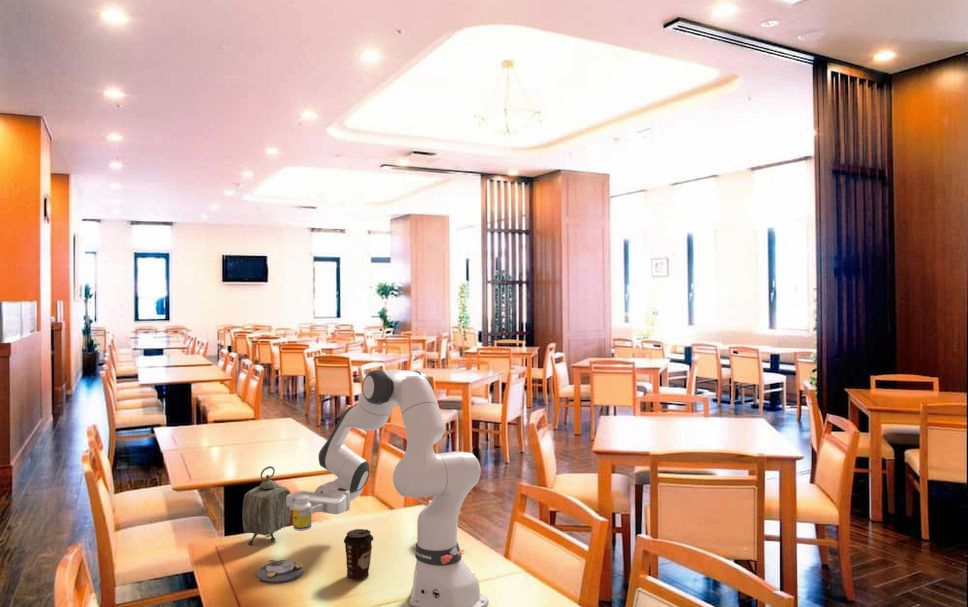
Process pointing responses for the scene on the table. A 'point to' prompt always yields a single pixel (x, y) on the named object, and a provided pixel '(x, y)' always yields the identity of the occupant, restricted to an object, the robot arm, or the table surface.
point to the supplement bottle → (301, 513)
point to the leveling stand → (280, 571)
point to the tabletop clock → (265, 508)
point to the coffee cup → (358, 553)
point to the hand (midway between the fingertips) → (300, 509)
